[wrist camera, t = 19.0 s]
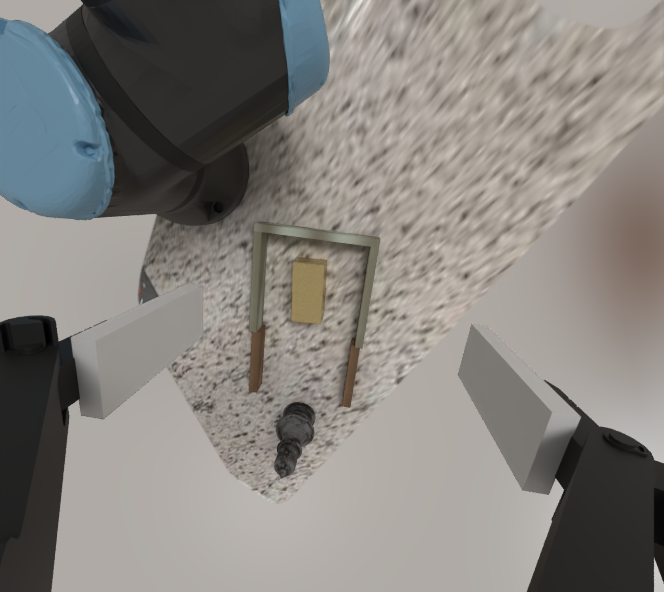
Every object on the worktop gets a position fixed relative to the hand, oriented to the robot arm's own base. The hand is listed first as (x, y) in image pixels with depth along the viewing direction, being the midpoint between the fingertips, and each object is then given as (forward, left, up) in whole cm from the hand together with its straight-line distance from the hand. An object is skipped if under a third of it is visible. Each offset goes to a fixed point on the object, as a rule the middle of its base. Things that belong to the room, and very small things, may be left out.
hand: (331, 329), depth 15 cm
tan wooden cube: (-5, -8, -29) cm, 30 cm away
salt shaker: (-5, -28, -29) cm, 40 cm away
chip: (-5, -4, -29) cm, 29 cm away
